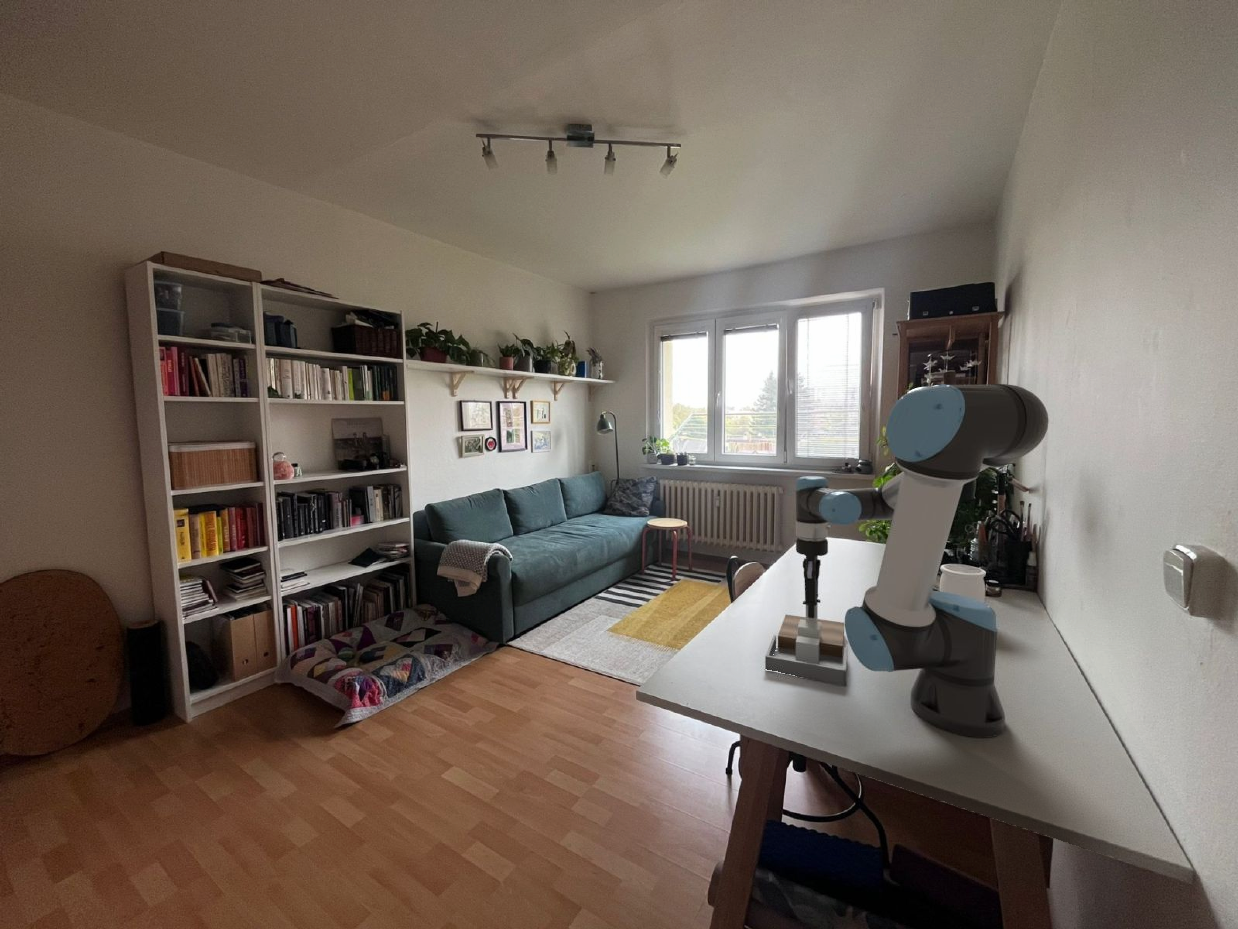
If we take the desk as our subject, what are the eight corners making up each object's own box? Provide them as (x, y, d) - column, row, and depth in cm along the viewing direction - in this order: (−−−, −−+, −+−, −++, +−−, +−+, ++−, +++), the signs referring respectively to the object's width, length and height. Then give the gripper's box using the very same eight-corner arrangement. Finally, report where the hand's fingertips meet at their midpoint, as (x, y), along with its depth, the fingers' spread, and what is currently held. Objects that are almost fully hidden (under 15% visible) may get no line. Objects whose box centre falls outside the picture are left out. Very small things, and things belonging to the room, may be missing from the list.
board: (842, 660, 118) (842, 646, 117) (777, 649, 124) (777, 635, 124) (844, 635, 131) (844, 622, 131) (785, 626, 138) (785, 614, 137)
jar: (992, 624, 136) (994, 571, 135) (968, 630, 132) (969, 576, 131) (954, 610, 146) (955, 561, 144) (930, 616, 142) (931, 566, 141)
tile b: (819, 644, 119) (819, 630, 119) (797, 640, 121) (797, 626, 121) (821, 635, 123) (821, 622, 123) (800, 632, 126) (800, 619, 125)
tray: (845, 686, 106) (845, 670, 106) (765, 670, 114) (765, 656, 113) (847, 660, 117) (847, 646, 117) (773, 648, 125) (773, 635, 125)
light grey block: (819, 659, 117) (818, 666, 114) (797, 655, 120) (795, 661, 116) (819, 639, 117) (818, 645, 114) (797, 635, 119) (795, 641, 116)
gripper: (826, 544, 116) (825, 641, 117) (829, 533, 127) (829, 621, 129) (792, 542, 119) (792, 636, 121) (799, 531, 131) (799, 617, 132)
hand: (811, 628), depth 125 cm, fingers closed
